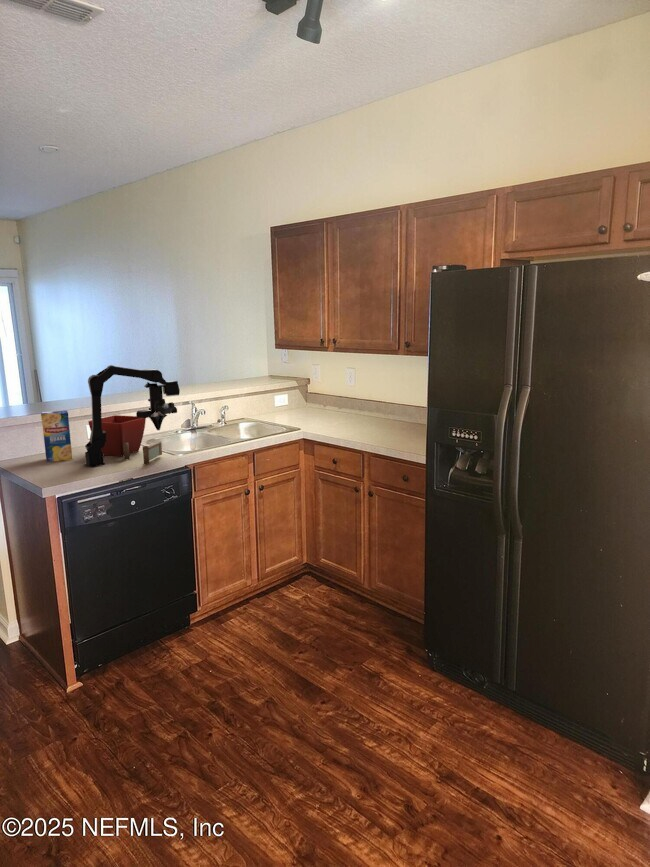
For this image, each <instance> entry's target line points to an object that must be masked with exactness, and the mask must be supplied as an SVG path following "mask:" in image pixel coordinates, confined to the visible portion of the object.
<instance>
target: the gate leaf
mask: <svg viewBox="0 0 650 867" xmlns="http://www.w3.org/2000/svg"><path fill="white" fill-rule="evenodd" d="M147 446H148V451H149V461H152V460H153V459H155V458H157V457H159V456H162V455H163V448H162V441H157V442H155V443H152V444H150V445H147Z"/></svg>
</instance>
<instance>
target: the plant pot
mask: <svg viewBox="0 0 650 867" xmlns="http://www.w3.org/2000/svg"><path fill="white" fill-rule="evenodd" d="M101 418H102V431H104V430H105V432H106V441H107V442H105V446H104V447H103V448H101V451H102V454H103V456H111V457H112V456H113V457H124V450H123V443H128V444H129V455H130V454H134V453H137V452H139V451H140V448H141V445H142V441H143V438H144V433H145V428H146V421H147V418H140V417H137V416H136V415H121V414H120V415H119V414H118V415H117V414H115V415H114V414H113V415H110V416H104V417H101ZM88 426H89V429H90V431H91V430H92V419H91V420H88Z"/></svg>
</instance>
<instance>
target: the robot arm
mask: <svg viewBox="0 0 650 867" xmlns="http://www.w3.org/2000/svg"><path fill="white" fill-rule="evenodd" d="M113 376H121V377H130V378H137V379H141V380H142V379H143V380H145V381H147V382H146V384H144V385H143V386H144V388H146V389H147V388H148V392H149V398H148V399H147V402H149V407H148V410H147V409H142V410H141V409H140V410H137V411H136V414H135V416H137V417H140V418H146V419H148V418H149V420H150V421H151V422H152V424H153V425H154V427H155V429H156V431H160V430H161V427H162V424H163V420H164V419H165V418H166V417H168V415H170V414H177V413H178V408H177V407H176V406H175V403H174V402H173V401H172V402H167V403H166V400H165V398H163V395H165V396H166V397H172V396H175V397H176V396H179V395H180V388H179V387H180V386H179V383H178V380H171V381H166V379H164V377H163V373H162V371H160V370H159V369H155V368H145V369H138V368H137V369H136V368H131V367H124V366H117V365H116V366H115V365H108V366H107V367H106V368H104V369H102V370H101V371H99V372H98V373H97V374H92V375H90V376H89V377H88V379H87V384H88V388H89V392H90V396H91V420H92V430H90V435H89V442H87V443H86V444H85V446H84V447H85V449H86V451H85V452H84V456H85V463H84V464H83V465H84V466H86V467H90V468H95V467H101V466H103V465H106V463H105V462H104V460H105V459H104V455H103V454H102V451H101V448H103V447H104V446H105V442H107V441H106V432H105V430H104V431H102V418H103V417H102V394H103V390H104V383H106V382H107V381H108V380H110V378H112V377H113ZM150 382H151V383H150ZM157 383H158V384H157Z"/></svg>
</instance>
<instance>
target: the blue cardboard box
mask: <svg viewBox="0 0 650 867" xmlns="http://www.w3.org/2000/svg"><path fill="white" fill-rule="evenodd" d="M40 417H41V424H42V432H43V433H42V434H43V443H44V452H45V459H46V460H45V462H46V463H52V461H55V462H60V461H59V460H64V461H70V460H69V459H72V460H73V452H72V451H73V450H72V442H71V441H72V440H71V433H70V432H71V430H70V420H69V412H68V410H56V411H42V412H40Z"/></svg>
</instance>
